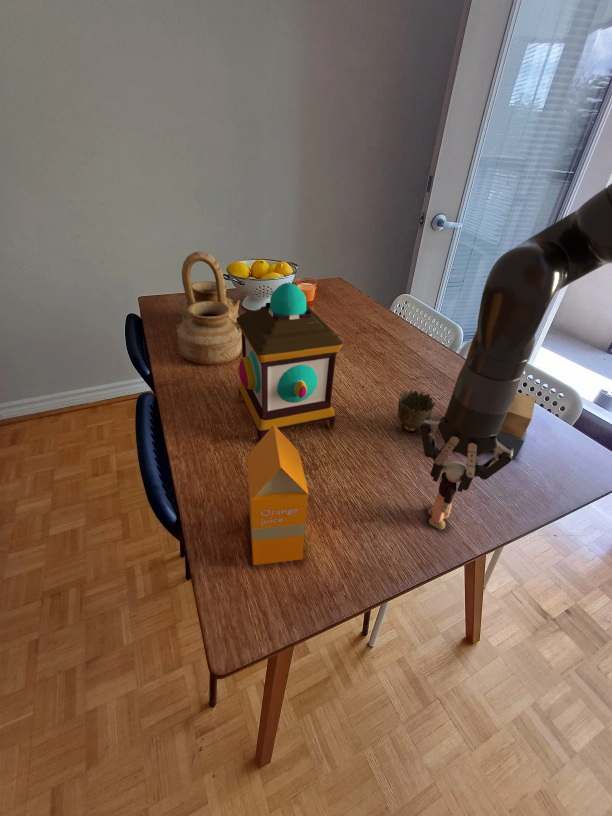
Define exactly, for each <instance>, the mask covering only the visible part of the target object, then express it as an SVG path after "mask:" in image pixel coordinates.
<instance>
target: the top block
mask: <svg viewBox="0 0 612 816" xmlns="http://www.w3.org/2000/svg"><path fill="white" fill-rule="evenodd" d="M536 400H537V398H536V397H535V396H531V395H528V394H524V393H521V392H518V391H517V392H516V395H515V398H514V400H513V402H512V404H511V406H510V408H509V411H508V413H507V415H506V417H505V420H504V422H503V424H502V426H501V429H500V431H501V432H504V433H507V434H510V435H513V436H516V437H519V438H523V436H524V434H525V432H526V433H527V431H528V427H529V425H530V424H531V421H532V420H533V414H534V409H535V405H536ZM526 430H527V431H526Z"/></svg>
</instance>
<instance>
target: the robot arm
mask: <svg viewBox="0 0 612 816" xmlns="http://www.w3.org/2000/svg"><path fill="white" fill-rule="evenodd" d="M609 264H612V182H611V183H610V184H608V185H607V187H606V186H605V187H604V188H602V189H601V190H600V191H598V192H597V193H596V194H594V195H592V197H590V198H589V199H588V200H586V201H585V202H583V204H581V206H579V208H578V209H576V210H574V211H573V212H571V213H570V214H568V215H566V216H564V217H562V218H561V219H559V220H557V221H555V222H554V223H553V224H551V225H549V226H547V227H546V228H544V229H543V230H541V231H539V232H537V233H536V234H534V235H532V236H531V237H529V238H528V239H526V240H524V241H523V242H520V243H519V244H518V245H516V246H514V247H513V248H511V249H508V251H506V252H505V253H503V254H502V255H501V256H500V257H499V258H497V260H496V261H495V262H494V264H493V266H492V268H491V269H490V271H489V274H488V276H487V278H486V281H485V284H484V287H483V290H482V296H481V299H480V305H479V311H478V315H477V316H478V317H477V324H476V325H477V326H476V330H475V332H474V335H473V338H472V340H471V342H470V346H469V348H468V352H467V354H466V358H465V361H464V363H463V365H462V366H461V369H460V371H459V373H458V376H457V378H456V382H455V385H454V388H453V391H452V393H451V395H450V396H451V397H450V399H449V402H448V406H447V408H446V412H445V415H444V416H443V417H442V418H441V419H440V420H432V418H431V417H430V416H429V417H426V418H425V419H424V421H423V423H422V424H421V426H420V428H419V431H420V436H421V442H422V448H423V453H424V457H426V458H429V459H430V458H431V459H432V460H433V464H432V468H431V470H430V477H432V481H434V482H435V483H437V482H438V481H439V479H440V477H441V476H440V475H442V472H443V470H442V467H443V466H444V465H445V463H446V460H447V458H448V457H449V456H450V454H451V453H452V452H453V453H456V454H459V455H462V456H464V457H466V465H465V472H464V474H463V477H462V480H461V481H459V484H458V486H457V490H456V492H459V493H463V491H465V492H467V491H468V490H469V488H470V486H471V483H472V481H473V479H474V478H476V477H478V478H479V479H481V480H483V481H485V480H489V478H490V477H492V476H493V475H495V474H496V473H498V472H499V471H500V470H501V469H503V468H504V467H505V466H507V465H509V464H510V463H511V462H512V460H513V458H512V456H513V452H514V449H513V448H512V447H509V446H508V447H505V446H503V445H502V444H501V443H499V437H498V433H499V431H500V429H501V426H502V424H503V422H504V420H505V417H506V415H507V413H508V411H509V408H510V406H511V404H512V402H513V400H514V398H515V395H516V392H518V390H519V386H520V381H521V378H522V376H523V374H524V371H525V369H526V367H527V365H528V362H529V360H530V357H531V355H532V353H533V351H534V347H535V343H536V334H537V333H538V330H539V327H540V326H541V323H542V321H543V319H544V317H545V314H546V313H547V310H548V308H549V306H550V304H551V303H552V300H553V299H554V296H555V295H556V293H558V292H559V291H560V290H561V289H563V288H565V287H567V286H568V285H570V284H571V283H574V282H575V281H577V280H579V279H581V278H582V277H585V276H587V275H588V274H590V273H592V272H594V271H596V270H598V269H599V268H601V267H603V266H605V265H609ZM437 430H438V431H439V433H440V436H441V439H442V440H443V442H444V443H443V445H442V446H441V448H438V447H437V443H436V437H435V435H436V433H437ZM493 449H494V450H495V452H494V451H493V454H492V455H493V456H492V457H491V458H489V459H488V460H487V461H486V462H484V463H483V464H479V457H480V456H481V455H484V454H486V453H488V452H490V451H491V450H493ZM491 452H492V451H491Z"/></svg>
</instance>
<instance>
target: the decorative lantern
mask: <svg viewBox="0 0 612 816" xmlns="http://www.w3.org/2000/svg"><path fill="white" fill-rule="evenodd" d="M236 321H237V324H238V326H239V328H240V329H241V332H242V350H241V352H242V358H241V359H240V362H239V365H238V375H239V380H240V385H239V386H238V391H237V392H238V398H239V400H240V401H242V402H243V403H244V405H245V407H246V410H247V412H248V414H249V416H250V418H251V420H252V423H253V425H254V427H255V430H256V435H257V439H258V440H257V441H258V442H260V440H261V439H262V438H263V437H264V436H265V434H266V433H267V432H268V431H269V430H270V429H271V427H272V426H273V424H274V425H275V426H276V427H277V428H278V429H279V430H280V431H281V430H283V429H289V428H294V427H299V426H304V425H310V424H314V423H319V422H323V421H324V422H325V421H326V425H327V427H328V429H329V428H330V429H331V428H333V427H334V426H335V423H336V413H335V410H334V408H333V406H332V394H333V384H334V377H335V365H336V359H337V355H338V352H339V351H340V350H341V348H342V347H343V345H344V343H343V341H342V340H341V339H340V337H339V336H338V335H337V334H336V332H335V331H334V330H332V328H330V326H328V324H326V322H325V321H323V320H322V318H320V316H319V315H318V314H316V313H315V311H314V310H312V308H310V306H308V305H307V297H306V294H305V293H304V292H303V290H301V288H300V287H299V286H298V285H296V284H295V283H293V282H285V283H284V282H283V283H282V284H280V285H279V286H277V287H276V289H274V291H272V293H271V294H270V300H269V302H266V303H265V305H264V306H261V307H260V308H259V309H255V310H247V311H245V312H244V313H241V314H240V315H238V317H237V318H236Z"/></svg>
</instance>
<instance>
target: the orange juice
mask: <svg viewBox="0 0 612 816" xmlns="http://www.w3.org/2000/svg"><path fill="white" fill-rule="evenodd" d="M246 463H247V477H248V478H247V480H248V481H247V482H248V484H247V489H248V490H247V491H248V507H249V527H250V540H251V554H252V565H253V566H259V565H268V564H275V563H283V562H284V563H285V562H292V561H301V560H303V557H304V545H305V544H304V543H305V535H306V526H307V523H306V522H307V511H308V499H309V495H310V493H309V490H308V489H309V488H308V485H307V480H306V476H305V471H304V467H303V463H302V458H301V454H300V451H299V450H298V449H297V448H296V447H295V446H294V445H293V443H292V442H291V441H290V440H289V439H288V438H287V437H286V436H285V435H284V434H283V432H282V431H281V429H280V430H279V429H278V428H277V427H276V426H275V425H274V424H273V426H272V427H271V429H270V430H269V431H268V432H267V433H266V434H265V436H264V437H263V438H262V439H261V440H260V441H258V443H257V444H256V445H255V446H254V447H253V448H252V449H251V451H249V453H248V454H246Z"/></svg>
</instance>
